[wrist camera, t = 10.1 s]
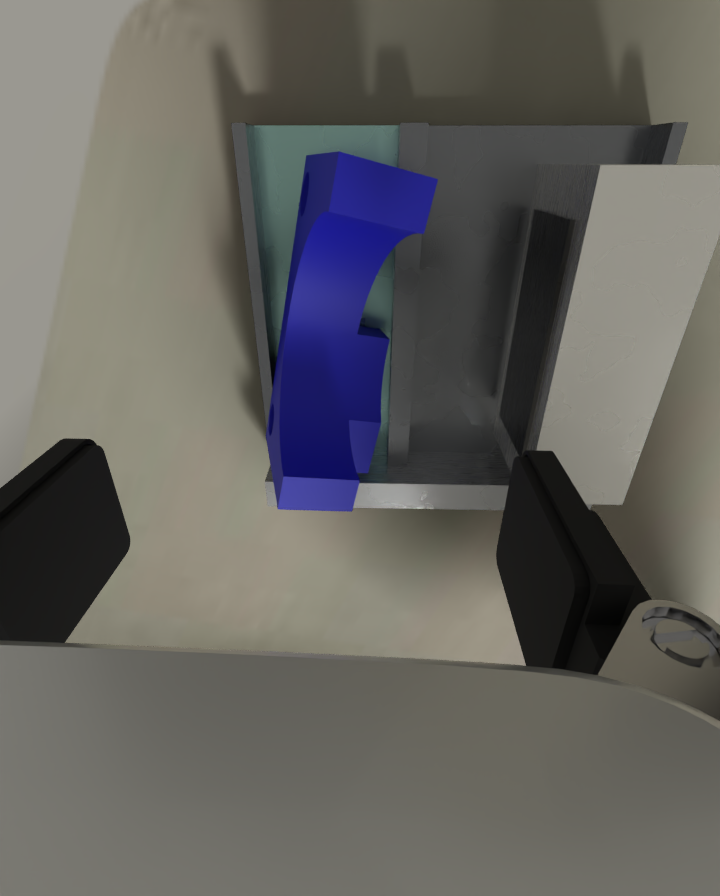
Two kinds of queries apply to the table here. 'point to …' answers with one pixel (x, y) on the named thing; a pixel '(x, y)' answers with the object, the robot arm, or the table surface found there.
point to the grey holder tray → (503, 296)
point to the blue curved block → (336, 327)
